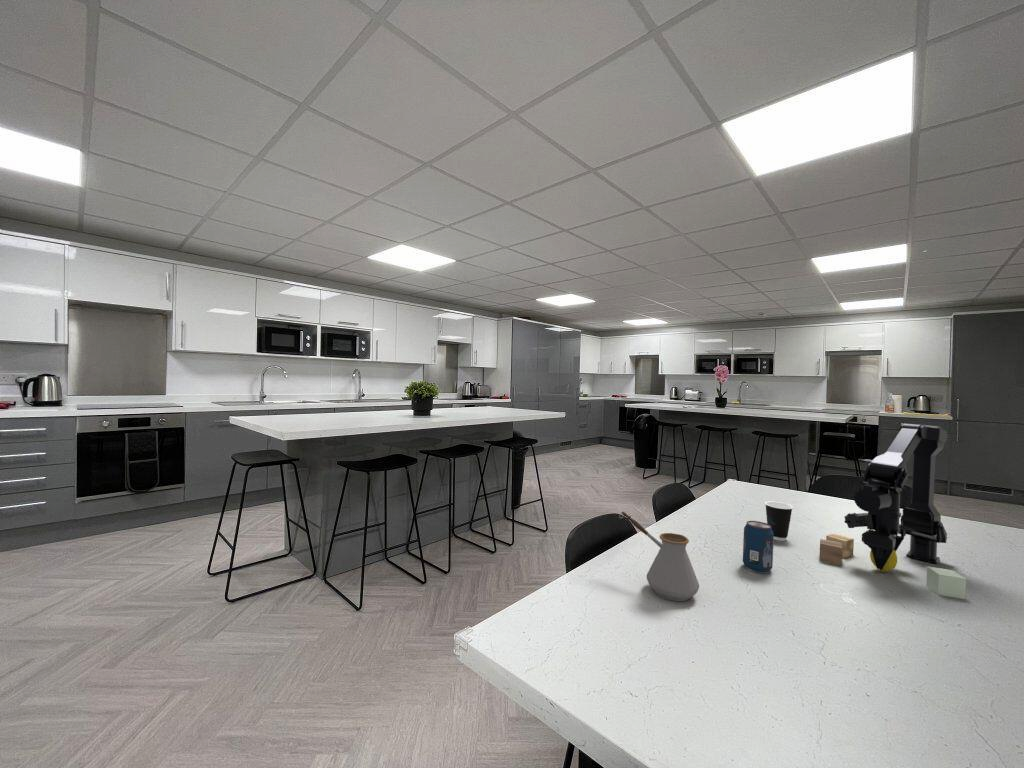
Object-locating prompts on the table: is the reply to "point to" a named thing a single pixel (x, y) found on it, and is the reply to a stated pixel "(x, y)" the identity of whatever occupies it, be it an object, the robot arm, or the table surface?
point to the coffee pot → (670, 566)
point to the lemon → (890, 563)
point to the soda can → (758, 546)
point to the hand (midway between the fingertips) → (883, 565)
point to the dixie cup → (778, 519)
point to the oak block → (843, 543)
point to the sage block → (946, 582)
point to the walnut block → (831, 552)
